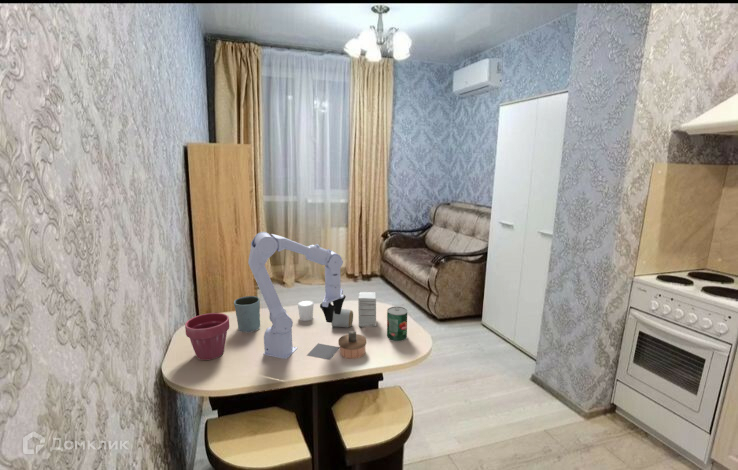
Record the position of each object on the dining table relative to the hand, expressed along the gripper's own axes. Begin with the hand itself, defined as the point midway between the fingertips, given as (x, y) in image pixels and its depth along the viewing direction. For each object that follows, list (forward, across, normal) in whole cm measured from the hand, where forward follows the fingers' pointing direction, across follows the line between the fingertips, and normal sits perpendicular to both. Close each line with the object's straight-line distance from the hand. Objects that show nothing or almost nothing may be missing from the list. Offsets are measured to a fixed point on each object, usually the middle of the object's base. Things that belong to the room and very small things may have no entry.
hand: (333, 317), depth 140 cm
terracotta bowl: (+9, -6, -10) cm, 15 cm away
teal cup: (+10, -1, +38) cm, 39 cm away
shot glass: (+10, +15, +20) cm, 27 cm away
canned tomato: (+10, +11, -22) cm, 26 cm away
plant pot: (+10, -23, +38) cm, 45 cm away
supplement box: (+10, +19, -7) cm, 22 cm away
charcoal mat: (+9, -9, 0) cm, 13 cm away
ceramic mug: (+10, +14, +2) cm, 17 cm away
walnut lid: (+5, -6, -10) cm, 13 cm away
